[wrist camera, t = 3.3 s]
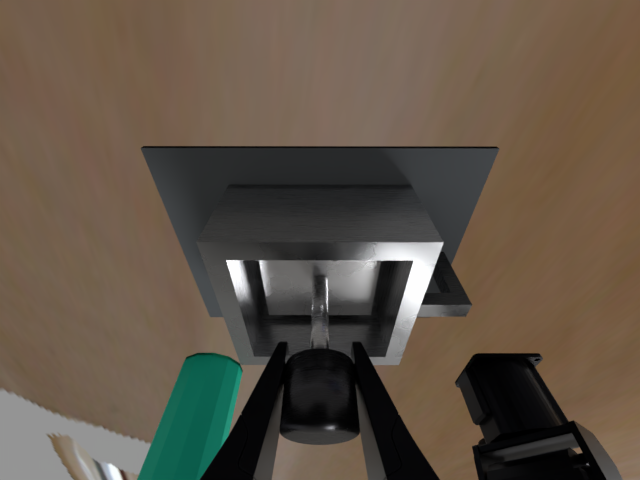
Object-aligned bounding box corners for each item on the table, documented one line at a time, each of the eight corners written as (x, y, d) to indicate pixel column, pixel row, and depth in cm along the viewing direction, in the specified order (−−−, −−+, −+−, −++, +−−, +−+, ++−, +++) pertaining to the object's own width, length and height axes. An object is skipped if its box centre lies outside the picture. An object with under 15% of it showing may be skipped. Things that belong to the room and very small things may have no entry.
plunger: (383, 227, 15) (434, 392, 8) (369, 307, 19) (395, 458, 12) (256, 227, 15) (204, 392, 8) (270, 307, 19) (244, 458, 12)
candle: (181, 348, 26) (103, 532, 17) (245, 356, 27) (205, 535, 18) (184, 377, 30) (122, 541, 20) (240, 383, 31) (206, 543, 21)
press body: (464, 184, 15) (515, 242, 11) (421, 301, 21) (444, 365, 17) (228, 184, 15) (196, 241, 11) (255, 301, 21) (240, 364, 17)
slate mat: (496, 146, 14) (499, 148, 14) (428, 314, 23) (429, 317, 22) (143, 145, 14) (140, 148, 14) (211, 314, 23) (210, 317, 22)
